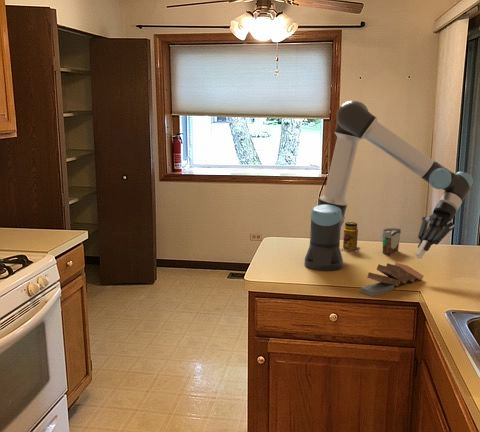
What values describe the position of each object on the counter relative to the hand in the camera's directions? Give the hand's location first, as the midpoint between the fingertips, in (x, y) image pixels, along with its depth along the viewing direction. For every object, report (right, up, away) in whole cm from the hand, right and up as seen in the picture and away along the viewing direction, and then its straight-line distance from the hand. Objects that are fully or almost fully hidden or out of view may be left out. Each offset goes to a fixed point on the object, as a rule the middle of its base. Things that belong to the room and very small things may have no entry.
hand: (418, 256), depth 196 cm
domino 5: (0, -7, +2) cm, 8 cm away
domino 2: (-14, -10, -9) cm, 19 cm away
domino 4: (-4, -8, -1) cm, 9 cm away
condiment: (-16, 0, +42) cm, 45 cm away
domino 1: (-11, -8, -7) cm, 16 cm away
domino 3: (-8, -8, -4) cm, 12 cm away
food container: (-1, -1, +38) cm, 38 cm away
